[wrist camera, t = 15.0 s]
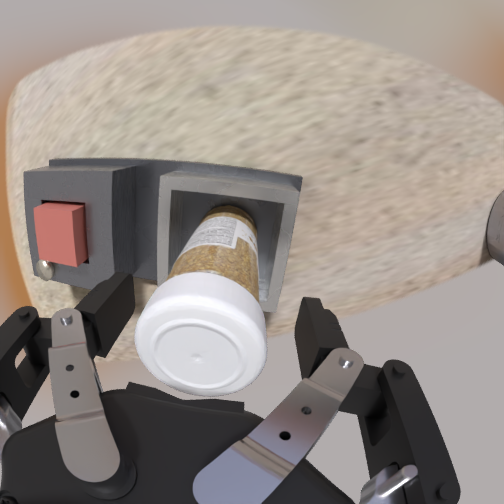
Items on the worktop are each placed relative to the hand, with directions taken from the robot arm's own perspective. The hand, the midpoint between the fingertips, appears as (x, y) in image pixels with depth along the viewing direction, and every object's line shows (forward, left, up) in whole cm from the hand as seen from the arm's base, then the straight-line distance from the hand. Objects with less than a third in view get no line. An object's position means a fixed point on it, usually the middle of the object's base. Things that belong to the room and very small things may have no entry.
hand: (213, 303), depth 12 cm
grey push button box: (+6, 0, -10) cm, 12 cm away
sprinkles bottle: (0, 0, -10) cm, 10 cm away
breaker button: (+12, 0, -9) cm, 15 cm away
